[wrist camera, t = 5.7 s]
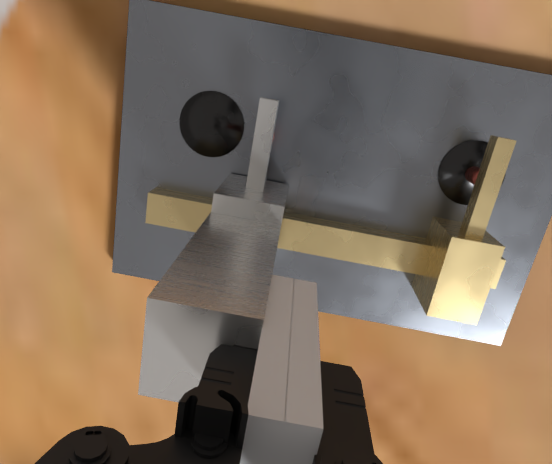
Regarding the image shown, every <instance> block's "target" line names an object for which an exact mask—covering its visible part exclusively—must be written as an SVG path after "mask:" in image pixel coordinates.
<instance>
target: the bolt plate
mask: <svg viewBox="0 0 552 464" xmlns="http://www.w3.org/2000/svg"><path fill="white" fill-rule="evenodd" d="M261 97H264V98H269V99H274V100H279V106H278V112H277V118H276V123H275V129H274V133H275V138H274V140H273V142H272V147H271V153H270V158H269V164H268V170H267V176H266V180H268V181H273V182H278V183H284V184H289V186H288V192H287V197H286V203H285V208H284V212H289V213H294V214H300V215H305V216H310V217H316V218H321V219H326V220H331V221H337V222H342V223H347V224H353V225H358V226H363V227H369V228H374V229H379V230H385V231H390V232H395V233H400V234H406V235H411V236H416V237H422V238H426V237H427V234H428V231H429V228H430V224H431V221H432V218H433V217H438V218H443V219H448V220H454V221H459V222H462V221H463V218H464V215H465V212H466V209H467V206H468V203H469V200H470V197H471V194H472V191H473V188H474V185H473V184H472V183H470V182H469V181H467V180H466V178H465V173H466V171H467V169H468V168H470V167H472V166H477V167H479V168H480V166H481V163H482V160H483V157H484V154H485V151H486V148H487V145H488V142H489V139H490V136H491V135H493V136H498V137H503V138H509V139H512V140H516V144H515V147H514V150H513V153H512V156H511V158H510V161H509V164H508V167H507V170H506V173H505V176H504V179H503V181H502V184H501V187H500V190H499V193H498V196H497V199H496V202H495V205H494V207H493V210H492V213H491V216H490V219H489V222H488V225H487V228H486V231H487V232H488V233H489V234H490V235H491V236H493V237H494V238H495V239H496V240H497V241H499V242H500V243H501V244H502V245H504V246H505V249H504V252H503V255H502V257H503V258H504V259H505V260H506V262H505V265H504V268H503V270H502V273H501V276H500V279H499V281H498V284H497V287H496V289H492V288H490V290H489V293H488V296H487V298H486V301H485V304H484V307H483V309H482V312H481V315H480V318H479V320H478V323H477V325H473V324H468V323H462V322H457V321H452V320H447V319H441V318H436V317H431V316H426V314H425V312H424V310H423V308H422V306H421V304H420V302H419V300H418V298H417V296H416V294H415V292H414V290H413V288H412V284H413V280H414V277H415V274H413V273H407V272H402V271H397V270H391V269H386V268H381V267H375V266H370V265H365V264H360V263H354V262H349V261H344V260H338V259H333V258H328V257H323V256H317V255H312V254H307V253H301V252H296V251H291V250H286V249H280V248H277V251H276V257H275V262H274V268H273V273H272V275H277V276H283V277H288V278H294V279H299V280H304V281H310V282H315V283H317V302H318V311H320V312H325V313H330V314H336V315H341V316H346V317H351V318H357V319H362V320H367V321H372V322H378V323H383V324H388V325H394V326H399V327H404V328H409V329H415V330H420V331H425V332H430V333H436V334H441V335H446V336H451V337H457V338H462V339H467V340H473V341H478V342H483V343H488V344H494V345H499V346H501V343H502V341H503V338H504V336H505V333H506V331H507V328H508V325H509V323H510V320H511V318H512V315H513V313H514V310H515V308H516V305H517V303H518V300H519V297H520V295H521V292H522V290H523V287H524V285H525V282H526V280H527V277H528V275H529V272H530V269H531V267H532V264H533V262H534V259H535V257H536V254H537V252H538V249H539V247H540V244H541V241H542V239H543V236H544V234H545V231H546V229H547V226H548V224H549V221H550V218H551V216H552V75H548V74H543V73H537V72H532V71H527V70H521V69H516V68H511V67H505V66H500V65H494V64H489V63H484V62H478V61H473V60H467V59H462V58H457V57H451V56H446V55H440V54H435V53H430V52H424V51H419V50H414V49H408V48H403V47H397V46H392V45H387V44H381V43H376V42H370V41H365V40H360V39H354V38H349V37H343V36H338V35H333V34H327V33H322V32H317V31H311V30H306V29H300V28H295V27H290V26H284V25H279V24H273V23H268V22H263V21H257V20H252V19H246V18H241V17H236V16H230V15H225V14H220V13H214V12H209V11H203V10H198V9H193V8H187V7H182V6H176V5H171V4H166V3H160V2H155V1H149V0H129V14H128V30H127V45H126V61H125V77H124V93H123V109H122V125H121V141H120V157H119V173H118V189H117V204H116V220H115V236H114V252H113V268H112V272H114V273H120V274H125V275H130V276H135V277H141V278H146V279H151V280H156V281H160V280H161V278H162V277H163V276H164V274H165V273H166V272H167V270H168V269H169V268H170V266H171V265H172V264H173V262H174V261H175V260H176V258H177V257H178V256H179V254H180V253H181V252H182V250H183V249H184V248H185V246H186V245H187V244H188V242H189V241H190V239H191V238H192V237H193V235H194V234H195V233H196V232H190V231H185V230H180V229H174V228H169V227H164V226H159V225H153V224H148V223H145V221H146V210H147V198H148V192H150V191H151V190H153V189H154V188H162V189H167V190H172V191H178V192H183V193H188V194H193V195H199V196H204V197H209V198H213V195H214V192H215V191H216V190H217V189H218V188H219V186H220V185H221V184H222V183H223V182H224V181H225V179H226V178H227V177H228V176H229V175H230V174H236V175H241V176H246V177H247V176H248V170H249V164H250V157H251V151H252V145H253V138H254V132H255V126H256V119H257V113H258V107H259V100H260V98H261Z"/></svg>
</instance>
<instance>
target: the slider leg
mask: <svg viewBox="0 0 552 464" xmlns="http://www.w3.org/2000/svg"><path fill="white" fill-rule="evenodd" d="M278 106H279V100H274V99H269V98H264V97H261V98H260V100H259V107H258V113H257V119H256V126H255V132H254V138H253V145H252V151H251V157H250V164H249V170H248V176H247V177H246V176H241V175H236V174H230V175H229V176H228V177H227V178H226V179H225V181H224V182H223V183H222V184H221V185H220V186H219V188H218V189H217V190H216V191H215V192H214V195H213V202H212V209H211V213H210V214H209V215H208V217H207V218H206V219H205V221H204V222H203V223H202V225H201V226H200V227H199V229H198V230H197V231H196V233H195V234H194V235H193V237H192V238H191V239H190V241H189V242H188V244H187V245H186V246H185V248H184V249H183V250H182V252H181V253H180V254H179V256H178V257H177V258H176V260H175V261H174V262H173V264H172V265H171V266H170V268H169V269H168V270H167V272H166V273H165V274H164V276H163V277H162V278H161V280H160V281H159V283H158V284H157V285H156V287H155V288H154V289H153V291H152V292H151V293H150V295H149V296H148V297H147V305H146V316H145V327H144V338H143V349H142V359H141V370H140V381H139V392H138V395H143V396H148V397H153V398H159V399H164V400H169V401H174V402H179V400H180V399H181V398H182V396H183V395H184V394H185V393H186V392H188V391H189V390H191V389H193V388H194V387H198V385H199V382H200V380H201V376H202V374H203V371H204V369H205V365H206V363H207V360H208V357H209V354H210V353H211V352H212V351H213V350H215V349H216V348H217V347H218V346H219V345H221V344H224V345H230V346H235V347H240V348H246V349H251V350H257V351H258V347H259V342H260V336H261V331H262V327H263V322H264V317H265V311H266V306H267V300H268V295H269V289H270V284H271V279H272V273H273V268H274V262H275V257H276V251H277V246H278V240H279V235H280V229H281V224H282V219H283V213H284V208H285V203H286V197H287V192H288V186H289V184H284V183H278V182H273V181H268V180H266V176H267V170H268V164H269V158H270V153H271V147H272V142H273V140H274V138H275V133H274V129H275V123H276V118H277V112H278Z"/></svg>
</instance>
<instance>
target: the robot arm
mask: <svg viewBox="0 0 552 464" xmlns="http://www.w3.org/2000/svg"><path fill="white" fill-rule="evenodd" d="M365 407H366V406H365V400H364V397H363V389H362V384H361V380H360V378H359V377H358V376H357V374H356V373H355V371H354V370H353V369H352V367H350V366H345V365H339V364H334V363H329V362H323V361H320V344H319V323H318V302H317V283H315V282H310V281H304V280H299V279H294V278H288V277H283V276H277V275H272V279H271V284H270V289H269V295H268V300H267V306H266V311H265V317H264V322H263V327H262V331H261V336H260V342H259V347H258V351H257V350H251V349H246V348H240V347H235V346H230V345H224V344H221V345H219V346H218V347H217V348H216V349H215V350H213V351H212V352H211V353H210V354H209V357H208V360H207V363H206V365H205V369H204V371H203V374H202V376H201V380H200V382H199V385H198V387H194V388H193V389H191V390H189V391H188V392H186V393H185V394H184V395H183V396H182V398H181V399H180V400H179V404H178V412H177V420H176V428H175V434H174V435H172V436H171V437H169V438H167V439H165V440H162V441H159V442H155V443H149V444H140V445H129V444H128V442H127V440H126V438H125V437H124V435H123V434H121V433H120V432H118V431H117V430H115V429H113V428H108V427H104V426H93V427H85V428H82V429H79V430H76V431H73V432H71V433H70V434H68V435H67V436H65V437H64V438H62V439H61V440H59V441H58V442H57V443H56V444H55V445H54V446H53V447H52V448H51V449H50V450H49V451H48V452H47V453H45V454H44V455H43V456H42V457H41V458H40V459H39V460H38V461H37V462H36V463H35V464H383V463H382V462H381V461H380V460H379V459H378V458H377V456H376V455H374V450H373V444H372V439H371V433H370V428H369V422H368V417H367V411H366V409H365Z"/></svg>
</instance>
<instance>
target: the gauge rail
mask: <svg viewBox="0 0 552 464" xmlns="http://www.w3.org/2000/svg"><path fill="white" fill-rule="evenodd" d="M515 144H516V140H512V139H509V138H503V137H498V136H493V135H491V136H490V139H489V142H488V145H487V148H486V151H485V154H484V157H483V160H482V163H481V166H480V168H479V167H477V166H472V167H470V168H468V169H467V171H466V173H465V178H466V180H467V181H469V182H470V183H472V184H473V185H474V188H473V191H472V194H471V197H470V200H469V203H468V206H467V209H466V212H465V215H464V218H463V221H462V222H459V221H454V220H448V219H443V218H438V217H433V218H432V221H431V224H430V228H429V231H428V234H427V237H426V238H422V237H416V236H411V235H406V234H400V233H395V232H390V231H385V230H379V229H374V228H369V227H363V226H358V225H353V224H347V223H342V222H337V221H331V220H326V219H321V218H316V217H310V216H305V215H300V214H294V213H289V212H284V213H283V219H282V224H281V229H280V235H279V240H278V246H277V248H280V249H286V250H291V251H296V252H301V253H307V254H312V255H317V256H323V257H328V258H333V259H338V260H344V261H349V262H354V263H360V264H365V265H370V266H375V267H381V268H386V269H391V270H397V271H402V272H407V273H413V274H415V277H414V280H413V284H412V288H413V290H414V292H415V294H416V296H417V298H418V300H419V302H420V304H421V306H422V308H423V310H424V312H425V314H426V316H431V317H436V318H441V319H447V320H452V321H457V322H462V323H468V324H473V325H477V323H478V320H479V318H480V315H481V312H482V309H483V307H484V304H485V301H486V298H487V296H488V293H489V290H490V288H492V289H496V287H497V284H498V281H499V279H500V276H501V273H502V270H503V268H504V265H505V262H506V260H505V259H504V258H503V257H502V255H503V252H504V249H505V246H504V245H502V244H501V243H500V242H499V241H497V240H496V239H495V238H494V237H493V236H491V235H490V234H489V233H488V232H487V231H486V228H487V225H488V222H489V219H490V216H491V213H492V210H493V207H494V205H495V202H496V199H497V196H498V193H499V190H500V187H501V184H502V181H503V179H504V176H505V173H506V170H507V167H508V164H509V161H510V158H511V156H512V153H513V150H514V147H515ZM212 202H213V198H209V197H204V196H199V195H193V194H188V193H183V192H178V191H172V190H167V189H162V188H154V189H153V190H151V191H150V192H148V198H147V210H146V221H145V223H148V224H153V225H159V226H164V227H169V228H174V229H180V230H185V231H190V232H196V231H197V230H198V229H199V227H200V226H201V225H202V223H203V222H204V221H205V219H206V218H207V217H208V215H209V214H210V213H211V209H212Z"/></svg>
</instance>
